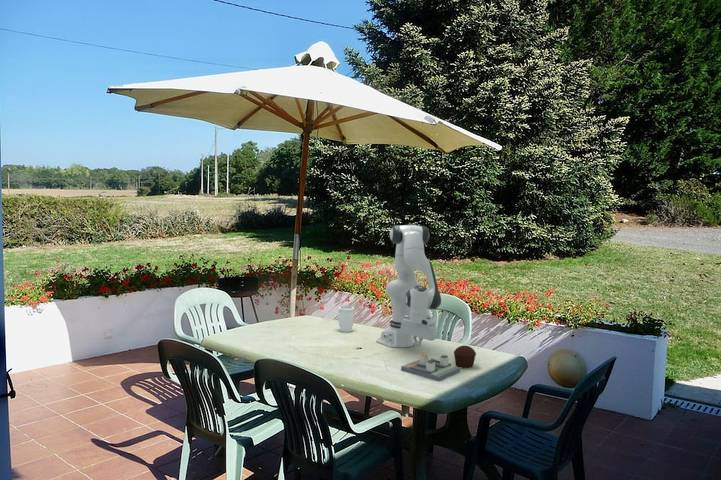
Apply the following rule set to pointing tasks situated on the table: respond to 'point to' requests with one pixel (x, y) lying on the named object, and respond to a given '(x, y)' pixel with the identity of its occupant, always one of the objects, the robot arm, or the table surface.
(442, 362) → the breaker
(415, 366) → the panel
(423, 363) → the breaker mid
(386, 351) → the table surface
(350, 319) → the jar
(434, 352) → the table surface
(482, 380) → the table surface
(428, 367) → the breaker
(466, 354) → the muffin
